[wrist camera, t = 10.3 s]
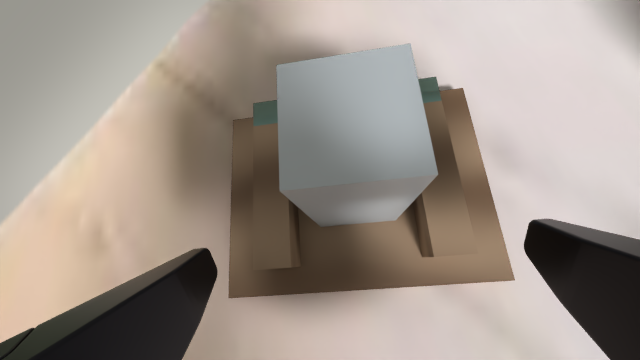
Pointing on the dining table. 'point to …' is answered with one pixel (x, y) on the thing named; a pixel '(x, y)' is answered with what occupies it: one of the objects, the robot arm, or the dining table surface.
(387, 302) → the dining table surface
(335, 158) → the block
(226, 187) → the dining table surface
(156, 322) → the robot arm
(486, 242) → the brown wooden holder
